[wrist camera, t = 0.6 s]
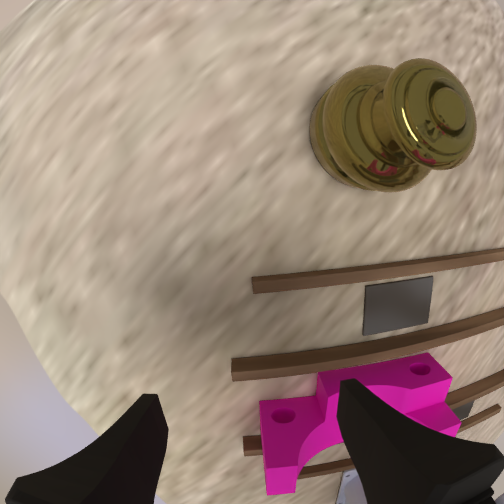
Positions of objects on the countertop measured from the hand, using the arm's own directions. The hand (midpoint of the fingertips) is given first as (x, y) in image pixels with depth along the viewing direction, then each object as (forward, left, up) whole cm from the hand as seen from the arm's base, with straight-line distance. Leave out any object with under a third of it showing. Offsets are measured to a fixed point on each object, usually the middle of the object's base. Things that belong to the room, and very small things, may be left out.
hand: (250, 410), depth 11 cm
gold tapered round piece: (+11, -9, -11) cm, 18 cm away
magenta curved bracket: (-10, -8, -11) cm, 16 cm away
